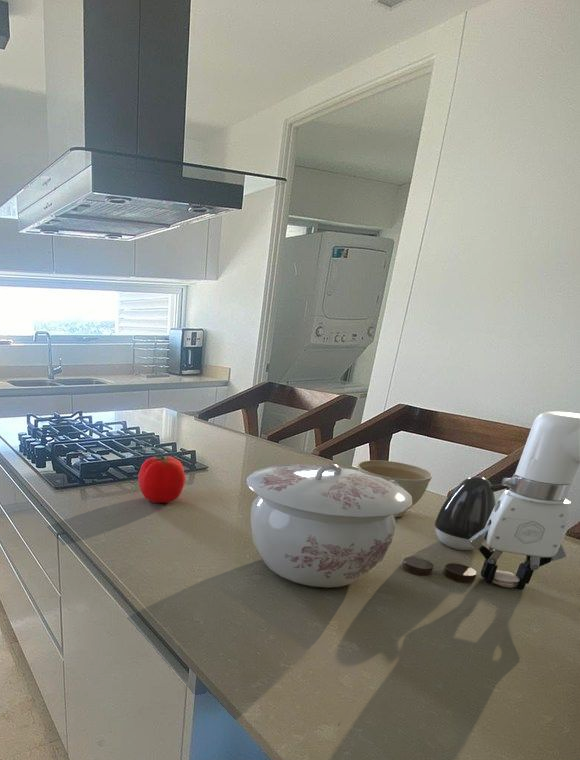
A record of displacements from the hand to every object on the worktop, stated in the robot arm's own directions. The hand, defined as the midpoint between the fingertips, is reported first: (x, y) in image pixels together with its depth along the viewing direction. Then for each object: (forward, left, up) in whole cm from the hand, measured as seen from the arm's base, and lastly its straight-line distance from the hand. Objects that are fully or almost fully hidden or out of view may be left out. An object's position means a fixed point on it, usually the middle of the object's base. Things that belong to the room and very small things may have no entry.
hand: (502, 582), depth 89 cm
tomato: (+71, -18, 0) cm, 73 cm away
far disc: (+14, 0, 0) cm, 14 cm away
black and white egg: (+4, -16, 0) cm, 16 cm away
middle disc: (+7, 0, 0) cm, 7 cm away
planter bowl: (+17, -32, 0) cm, 36 cm away
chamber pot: (+33, +8, 0) cm, 34 cm away
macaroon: (0, 0, 0) cm, 1 cm away
